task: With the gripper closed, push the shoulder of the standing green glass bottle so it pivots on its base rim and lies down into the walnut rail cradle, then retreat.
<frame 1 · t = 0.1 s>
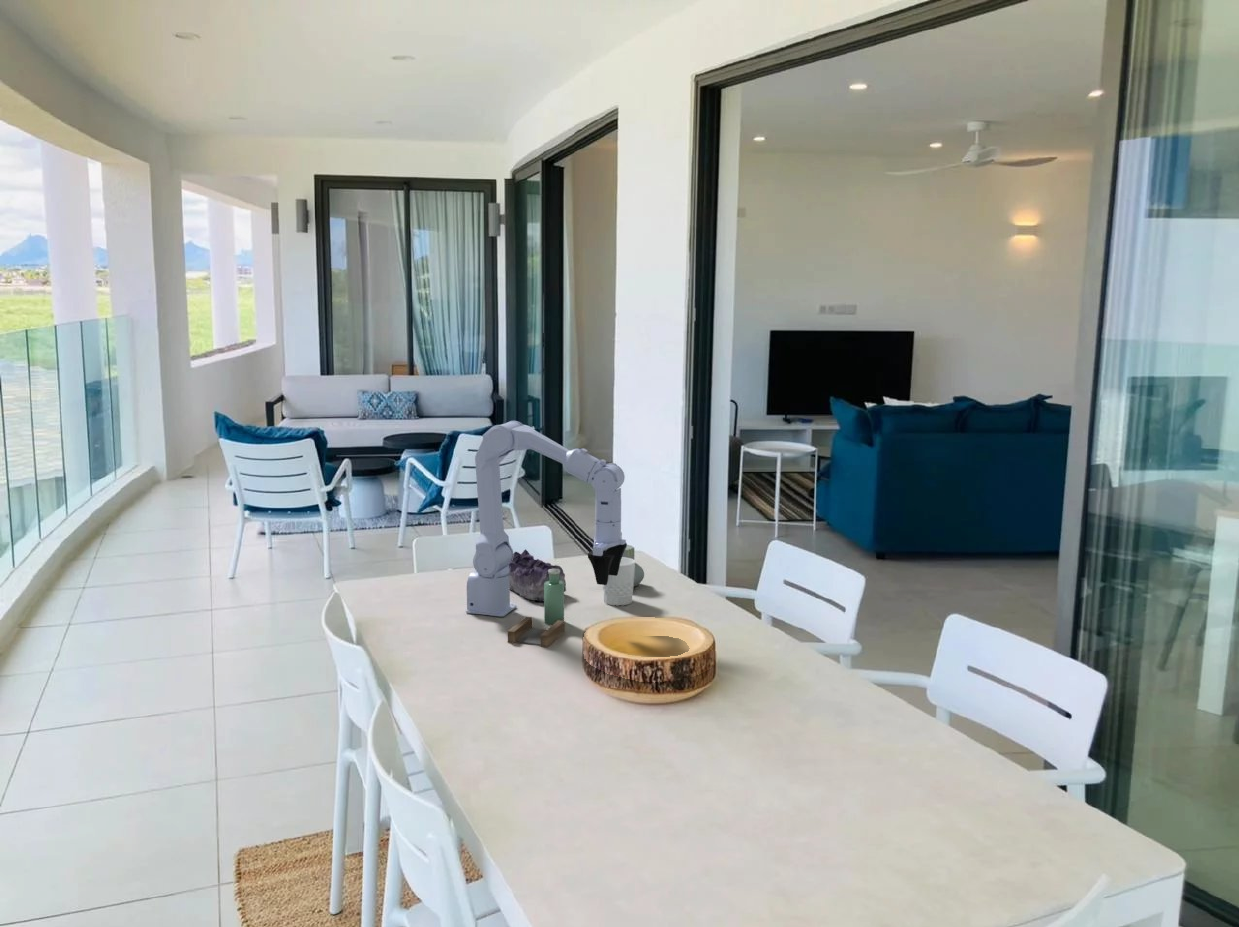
hand: (607, 579, 224), 10 cm above the table, fingers open, 7 cm apart
bottle: (554, 622, 226), on the table
air freshener: (622, 586, 254), on the table
geode: (530, 592, 249), on the table
white cup: (618, 602, 241), on the table
cradle: (536, 637, 216), on the table
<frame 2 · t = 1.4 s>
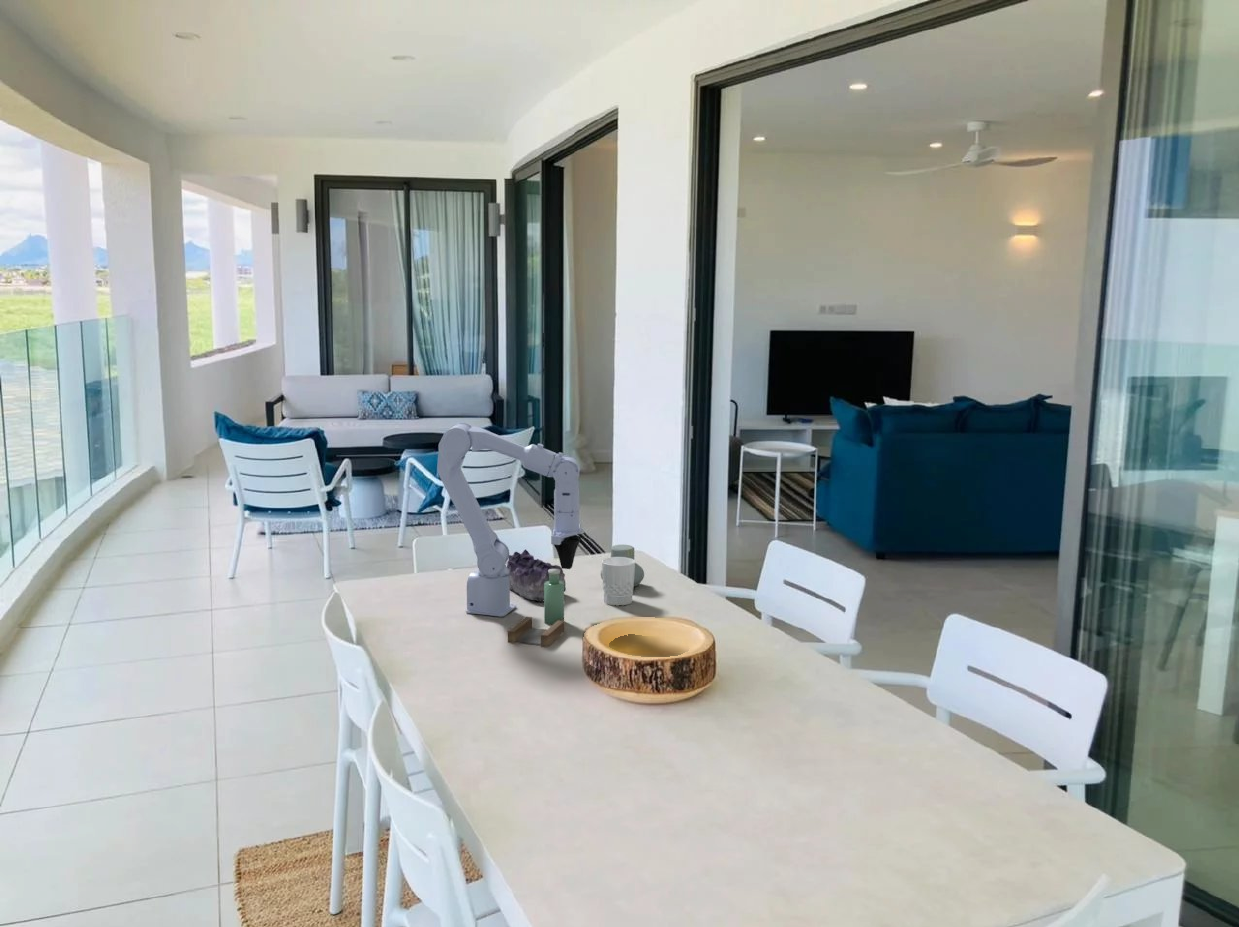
hand: (566, 568, 232), 10 cm above the table, fingers closed
nothing on the table moved.
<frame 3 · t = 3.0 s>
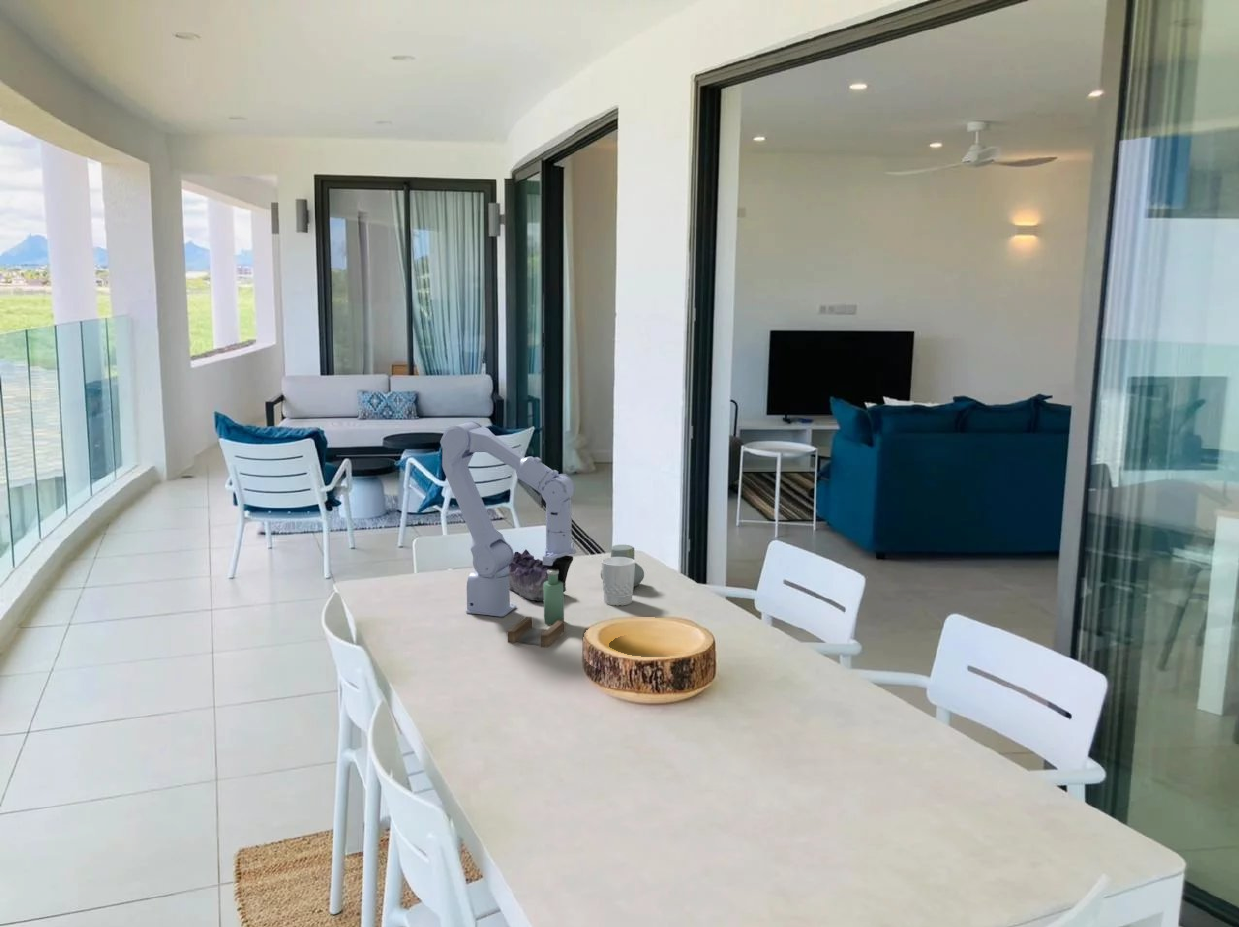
hand: (558, 588, 228), 7 cm above the table, fingers closed
bottle: (554, 621, 226), on the table, touching gripper
everything else where it was.
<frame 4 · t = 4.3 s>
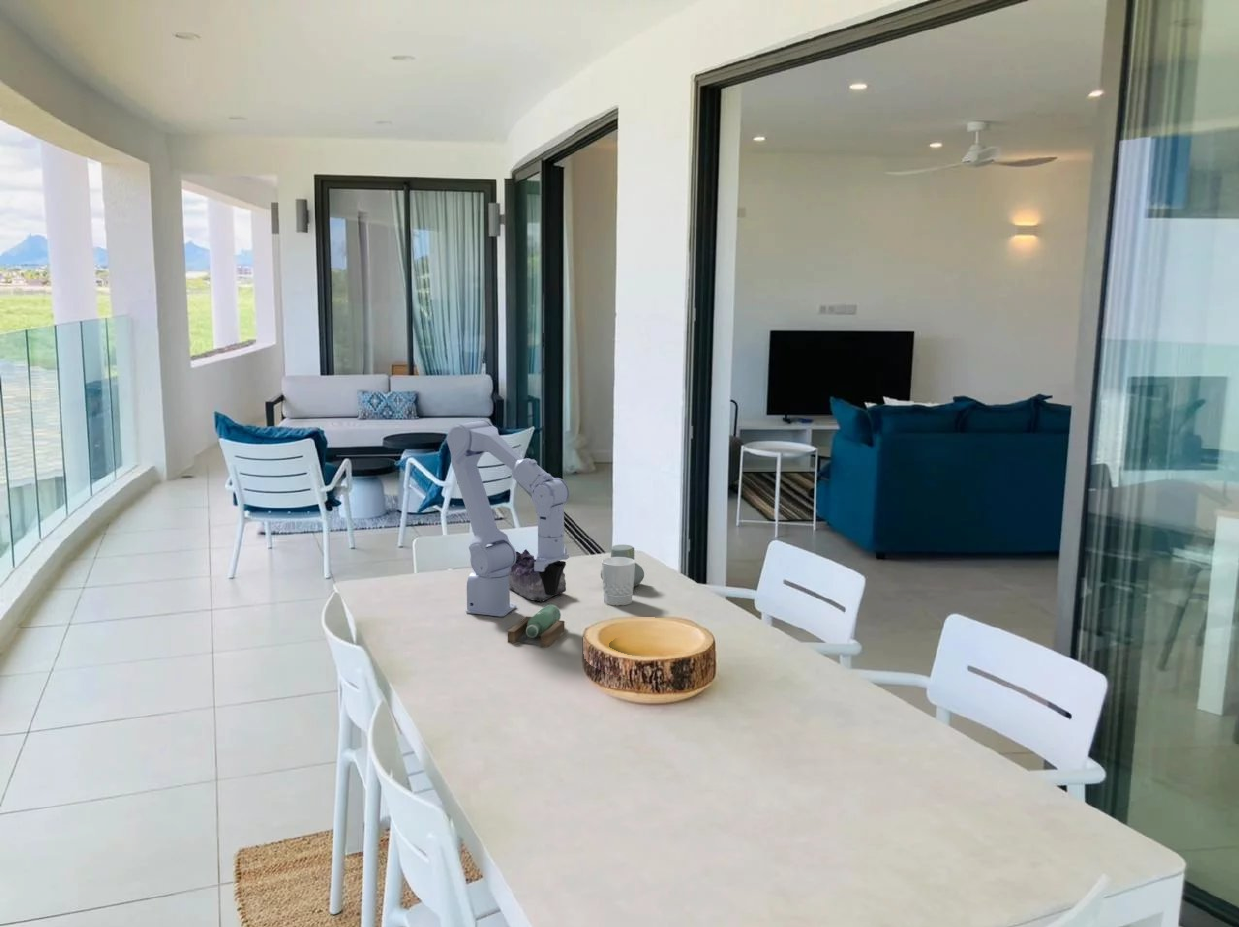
hand: (551, 594, 223), 7 cm above the table, fingers closed
bottle: (551, 614, 224), point 2 cm above the table, tilted 90°, touching cradle
everything else where it was.
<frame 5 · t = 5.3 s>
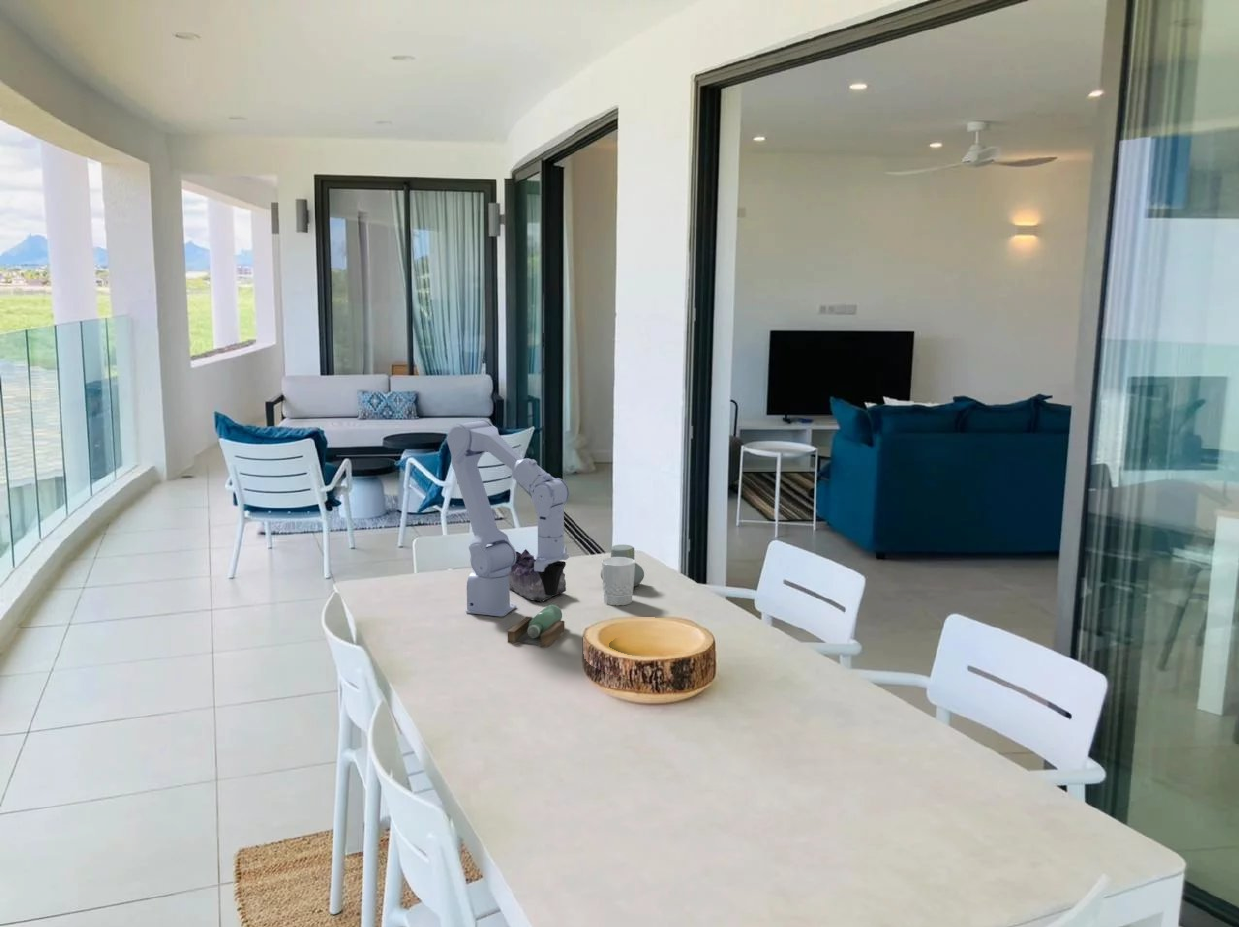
hand: (550, 594, 223), 7 cm above the table, fingers closed
nothing on the table moved.
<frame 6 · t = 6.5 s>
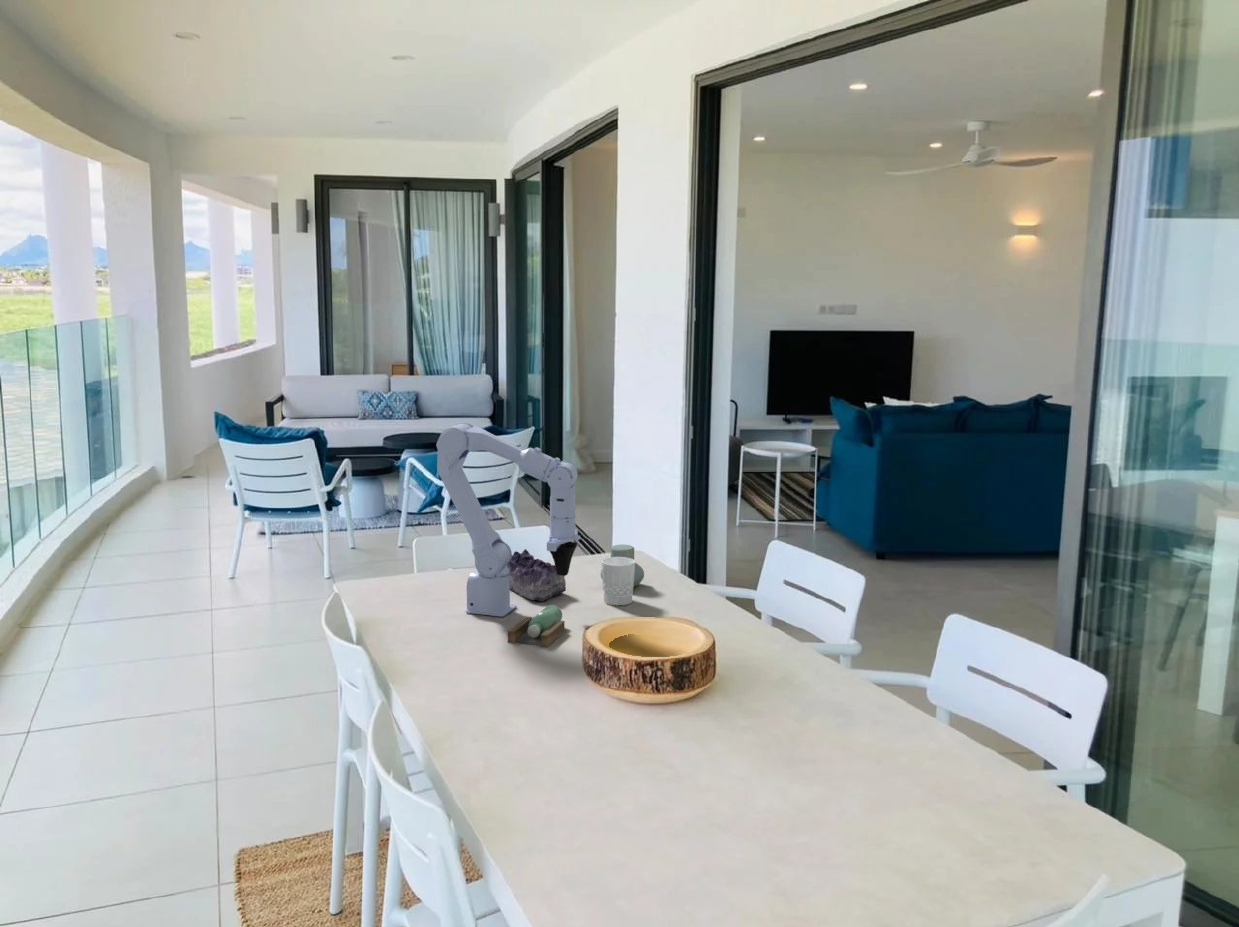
hand: (562, 574, 230), 9 cm above the table, fingers closed
nothing on the table moved.
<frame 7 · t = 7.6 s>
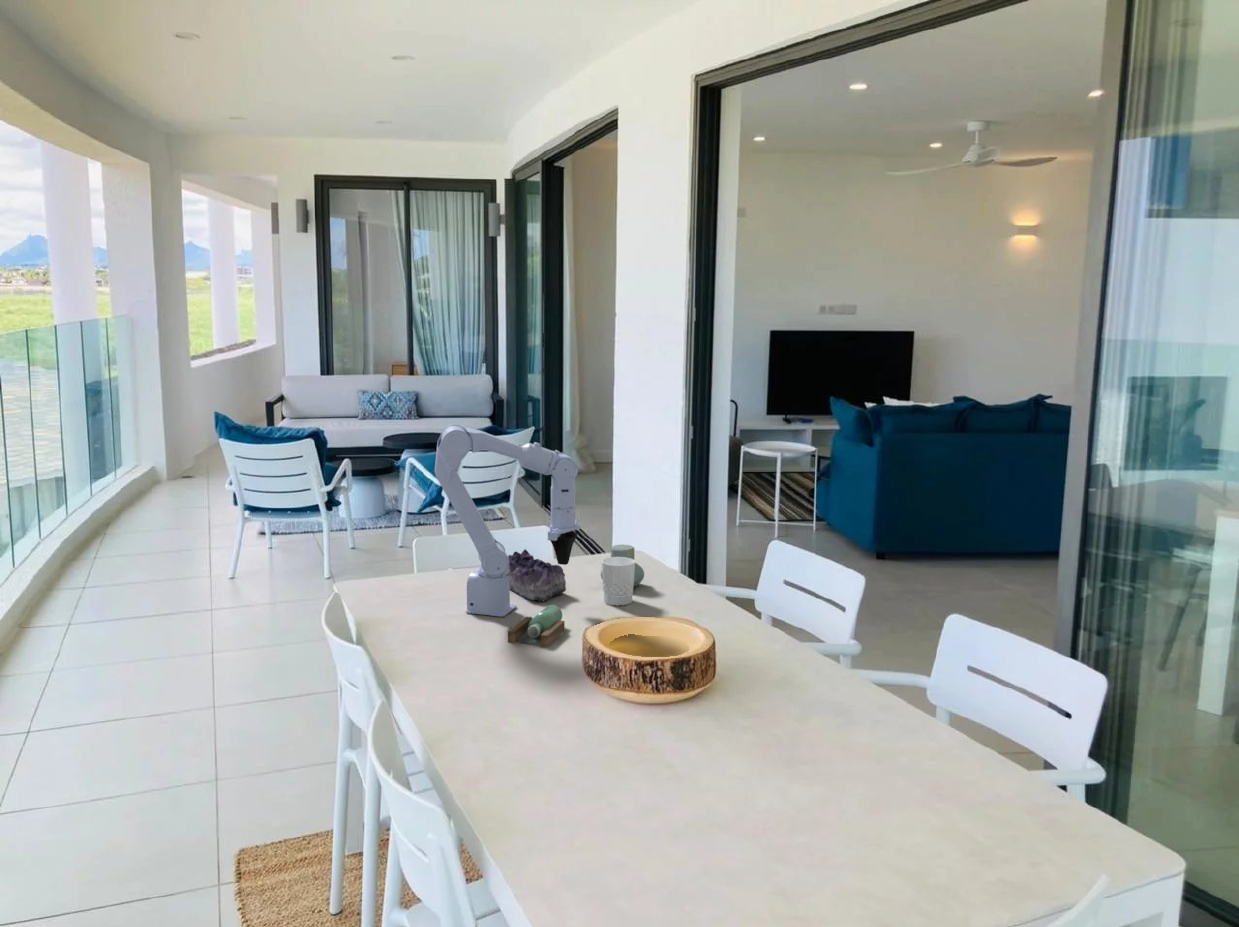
hand: (563, 563, 235), 10 cm above the table, fingers closed
nothing on the table moved.
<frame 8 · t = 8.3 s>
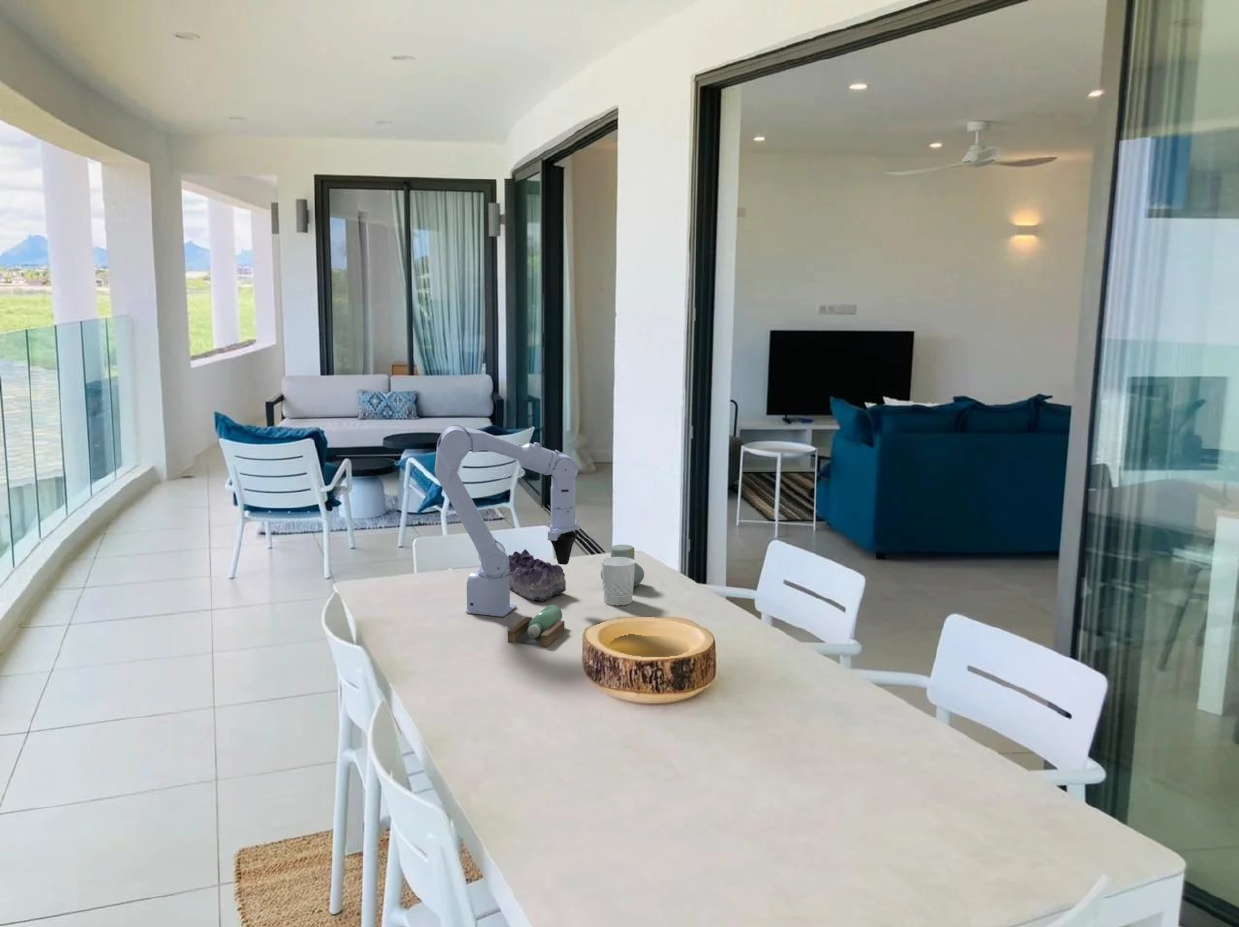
hand: (563, 563, 235), 10 cm above the table, fingers closed
nothing on the table moved.
at the end: bottle tilted 90°; bottle inside the target area (1.0 cm from its centre), point 2.5 cm above the table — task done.
